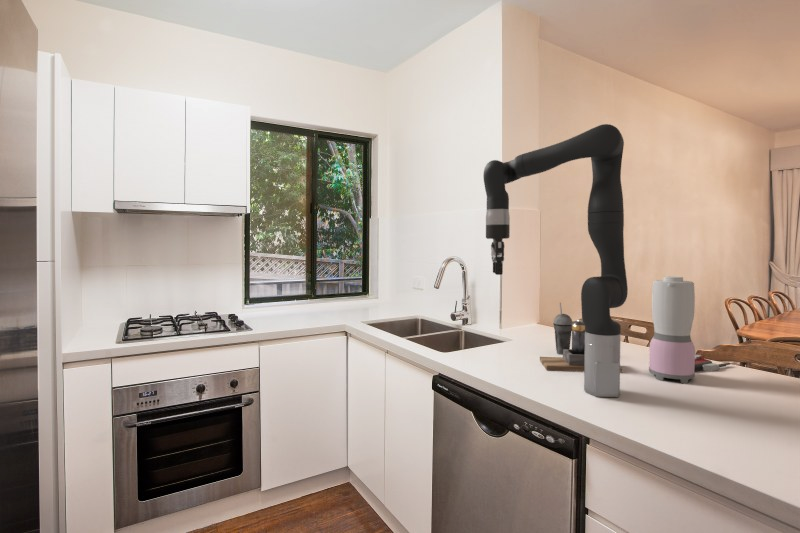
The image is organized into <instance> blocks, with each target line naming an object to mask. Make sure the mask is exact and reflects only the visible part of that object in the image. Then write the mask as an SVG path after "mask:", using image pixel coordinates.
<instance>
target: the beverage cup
mask: <svg viewBox="0 0 800 533" xmlns="http://www.w3.org/2000/svg"><path fill="white" fill-rule="evenodd" d="M559 310H560V313H559V314H557V315H556V316H555V318H553V319H554V320H553V328H554V329H553V330H554V339H555V349H556V350H555V351H556V354H557V355H562V356H563V349H571V341H572V322H573V320H572V318H571V316H570V315H568V314H566V313H563V311H562V303H561V302H559Z"/></svg>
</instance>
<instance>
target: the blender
mask: <svg viewBox="0 0 800 533" xmlns="http://www.w3.org/2000/svg"><path fill="white" fill-rule="evenodd" d="M651 290H652V291H651V292H652V293H651V316H652V317H651V318H652V323H653V329H654V333H653V337H652V338H651V340H650V343H649V348H648V349H649V350H648V351H649V353H648V354H649V355H648V357H649V358H648V359H649V362H648V364H649V366H648V372H649V373H650V374H652V375H655V379H656V380H658V381H664V380H665V378H666V379H672V380H679V382H680V383H681V384H688V383H689V380H691V379H692V380H693V379H694V378H695V376H696V375H695V374H696V373H695V372H694V368H695V355H696V349H695V345H694V344H695V343H694V342H693V341H692V338H691V332H692V328H693V322H694V316H695V307H696V306H695V302H696V299H695V298H696V296H695V282H694V281H691V280H684V276H671V275H670V276H666V275H665V276H664V277H663V279H655V280H654V281H653V282H652V289H651Z"/></svg>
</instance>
